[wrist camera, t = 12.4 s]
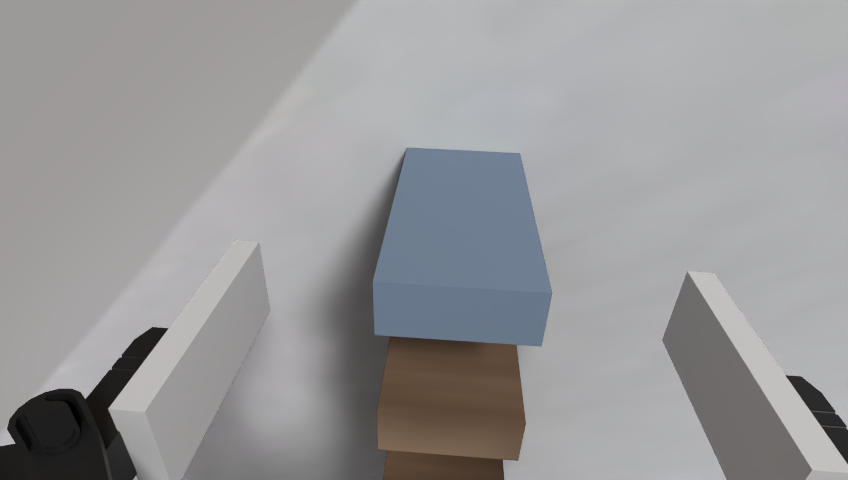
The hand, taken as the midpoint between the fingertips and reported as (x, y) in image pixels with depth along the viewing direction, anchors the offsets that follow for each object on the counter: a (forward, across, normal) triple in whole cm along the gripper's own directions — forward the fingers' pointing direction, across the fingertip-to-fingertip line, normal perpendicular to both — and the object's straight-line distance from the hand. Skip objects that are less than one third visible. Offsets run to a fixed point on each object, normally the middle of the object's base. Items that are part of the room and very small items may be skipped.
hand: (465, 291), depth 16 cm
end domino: (+8, 0, 0) cm, 9 cm away
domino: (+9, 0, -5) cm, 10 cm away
